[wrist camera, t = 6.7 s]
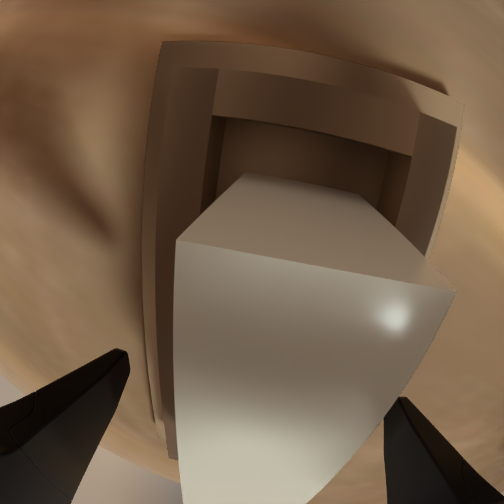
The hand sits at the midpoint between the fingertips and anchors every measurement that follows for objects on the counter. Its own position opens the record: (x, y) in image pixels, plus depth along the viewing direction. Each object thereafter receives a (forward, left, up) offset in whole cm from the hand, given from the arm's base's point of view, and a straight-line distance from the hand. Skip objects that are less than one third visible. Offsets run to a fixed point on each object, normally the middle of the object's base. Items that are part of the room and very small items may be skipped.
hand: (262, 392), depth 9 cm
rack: (0, 0, -4) cm, 4 cm away
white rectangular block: (0, 0, -3) cm, 3 cm away
